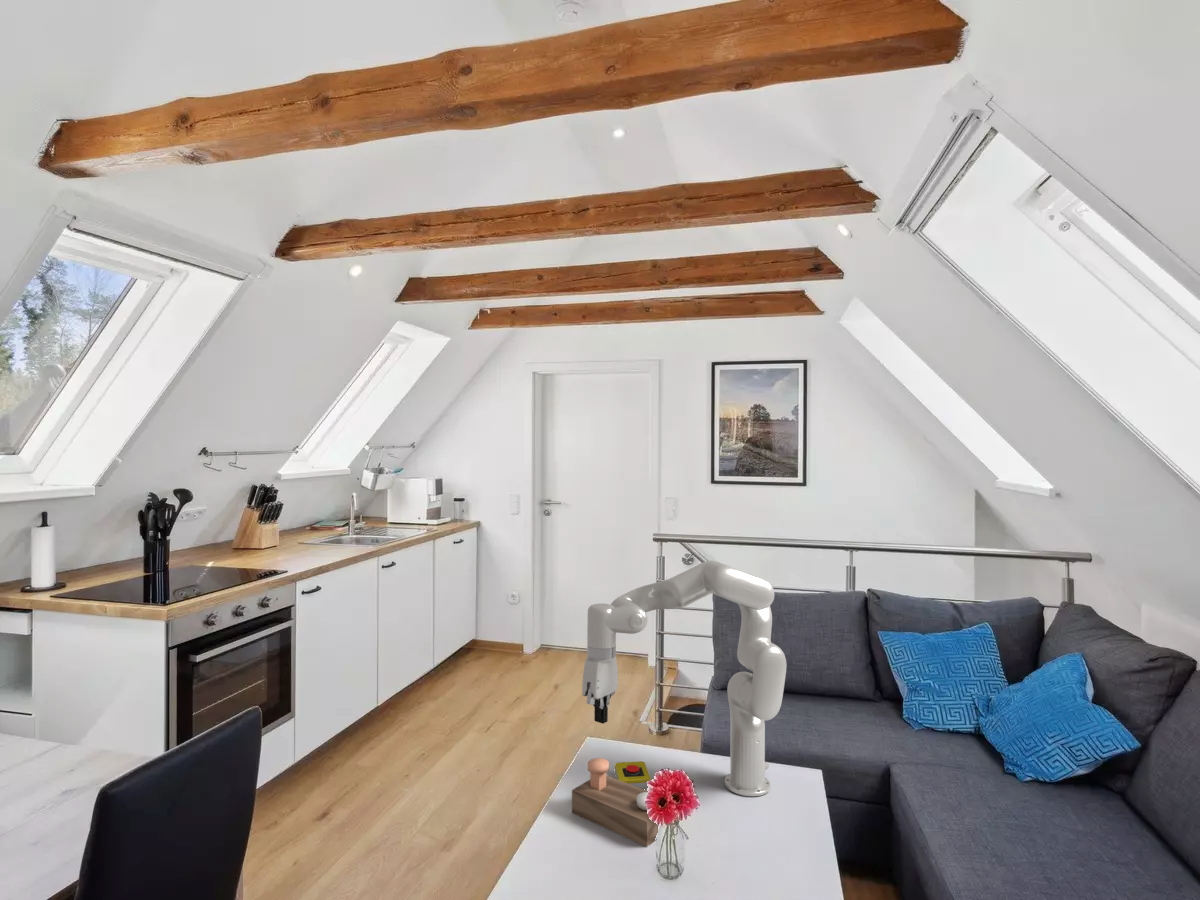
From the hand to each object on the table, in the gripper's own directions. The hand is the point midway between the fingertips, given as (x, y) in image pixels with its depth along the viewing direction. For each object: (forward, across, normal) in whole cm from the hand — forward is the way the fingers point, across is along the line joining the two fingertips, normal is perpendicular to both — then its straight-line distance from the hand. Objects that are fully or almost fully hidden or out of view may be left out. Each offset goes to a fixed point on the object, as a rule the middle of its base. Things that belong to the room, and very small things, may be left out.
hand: (600, 721), depth 178 cm
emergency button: (+24, -19, -3) cm, 31 cm away
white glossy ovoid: (+23, 0, +15) cm, 27 cm away
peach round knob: (+19, 0, -1) cm, 19 cm away
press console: (+23, 0, +7) cm, 24 cm away
